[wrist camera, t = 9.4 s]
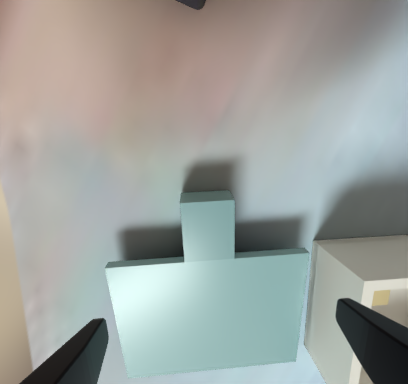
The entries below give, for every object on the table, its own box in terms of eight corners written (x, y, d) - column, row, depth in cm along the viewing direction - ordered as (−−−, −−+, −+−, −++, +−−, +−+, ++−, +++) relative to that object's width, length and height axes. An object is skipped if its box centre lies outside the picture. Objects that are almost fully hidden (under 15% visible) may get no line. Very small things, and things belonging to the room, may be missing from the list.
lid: (284, 337, 23) (295, 361, 21) (134, 351, 22) (128, 378, 20) (300, 186, 18) (316, 195, 16) (105, 197, 17) (92, 208, 15)
